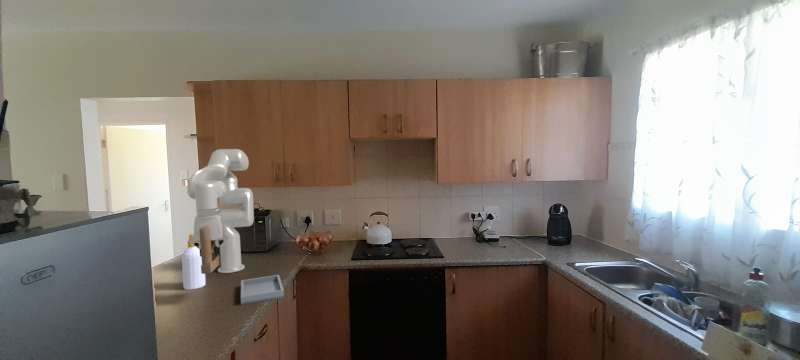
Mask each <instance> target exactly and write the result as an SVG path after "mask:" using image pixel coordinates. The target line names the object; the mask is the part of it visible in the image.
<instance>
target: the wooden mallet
mask: <svg viewBox="0 0 800 360" xmlns="http://www.w3.org/2000/svg"><path fill="white" fill-rule="evenodd" d="M199 230H200V244H201V258H202V265H201V273H202V274H205V275H206V274H207V275H208V274H212V273H213V271H215V270H216V269H217V267H219V265H220V256H219V255H220V254H218V257H216V256H215V247H216V244H215V241H211V239H210V228H209V227H207V228H200V229H199Z"/></svg>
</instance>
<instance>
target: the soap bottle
mask: <svg viewBox="0 0 800 360" xmlns="http://www.w3.org/2000/svg"><path fill="white" fill-rule="evenodd" d="M193 235H194V233H191V234H188V237H189V239H188V241H187V248H186V249H185V250H184V251H183V253H182V256H181V266H182V267H181V268H182V283H183V286H182V287H183V289H184V290H187V291H188V290H190V291H191V290H195V289H196V290H197V289H200V288H203V287H204V286H206V274H202V273H201V265H202V258H201V257H200V249H199V248H197V247H196V246H195V245H193V244H190V243H189V241H190V239H191V238H192V236H193ZM194 241H195V240H194ZM195 242H196V241H195Z"/></svg>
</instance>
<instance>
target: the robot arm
mask: <svg viewBox="0 0 800 360" xmlns="http://www.w3.org/2000/svg"><path fill="white" fill-rule="evenodd" d="M249 164H250V162H249V157H248V156H247V154H246V153H245V152H244V151H243V150H241V149H238V148H228V149H227V148H220V149H217V150H214V151H213V152H212V153H211V155H210V158H209V161H208V163H207V165H206V166H204V167H203V168H201V169H199V170H197V171H196V172H194V173H193V174H192V175H191V177H190V179H189V181H188V183H187V187H186V188H187V189H186V193H187V195H188V197H189V198H190V199H193V200H195V206H196V208H195V210H196V216H194V222H193V224H194V225H193V234H194V235H193V236H192V238H191V239H190V241H189V240H188V241H189V243H190V244H193V245H195V246H196V247H197V248H199V249H200V257H201V244H200V230H199V229H200V228H207V227H209V228H210V239H211V241H215V244H216V247H215V256H216V257H218V254H219V255H220V256H219V257H220V267H219V268H218V269H217V272H218V273H220V274H231V273H235V272H237V273H238V272H240V271H243V270H244V269H245V264H243V263H242V252H241V250H242V248H241V235H240V233H239V231H238V230H237V229H235V228H244V227H250V226H252V225H253V223H254V219H255V217H254V216H255V215H254V214H255V211H254V194H253V191H252V190H251V188H249V187H248V188H247V187H238V178H237V176H236V175H235V174H234V173H233V172H234V171H235V172H238V171H246V170H247V169H248V168H249ZM232 171H233V172H232ZM218 199H219V203H220V206H222V207H226V208H227V209H221V208H218ZM230 207H231V209H230ZM233 207H243V208H233ZM228 208H229V209H228ZM194 240H195V241H196V242H195V241H194Z"/></svg>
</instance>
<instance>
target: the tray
mask: <svg viewBox="0 0 800 360" xmlns="http://www.w3.org/2000/svg"><path fill="white" fill-rule="evenodd" d="M283 298H285V289H284V286H283V283H282V279H281V276H280V274H273V275H269V276H261V277H256V278H255V277H254V278H248V279H241V280H240V305H241V306H242V305H249V304H254V303H260V302H265V301H272V300H276V299H283Z"/></svg>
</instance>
